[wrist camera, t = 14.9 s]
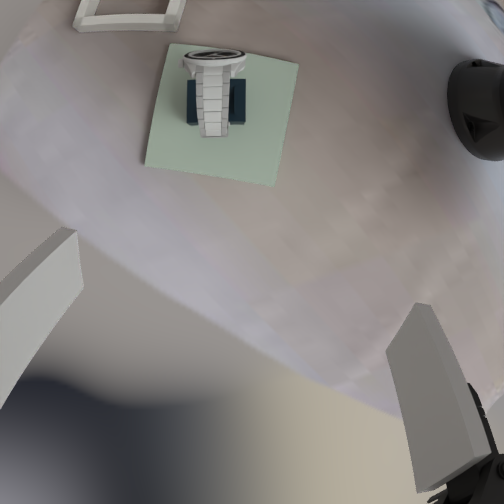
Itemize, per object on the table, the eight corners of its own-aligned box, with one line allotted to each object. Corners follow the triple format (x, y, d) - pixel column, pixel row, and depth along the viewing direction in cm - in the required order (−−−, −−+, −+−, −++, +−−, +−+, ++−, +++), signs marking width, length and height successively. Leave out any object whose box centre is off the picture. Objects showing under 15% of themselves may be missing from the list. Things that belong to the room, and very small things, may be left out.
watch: (244, 68, 28) (253, 30, 18) (243, 141, 31) (252, 135, 20) (190, 69, 28) (174, 32, 17) (189, 142, 30) (170, 137, 20)
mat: (297, 66, 29) (299, 64, 28) (273, 186, 33) (274, 187, 32) (171, 45, 27) (170, 43, 26) (146, 166, 31) (144, 166, 30)
